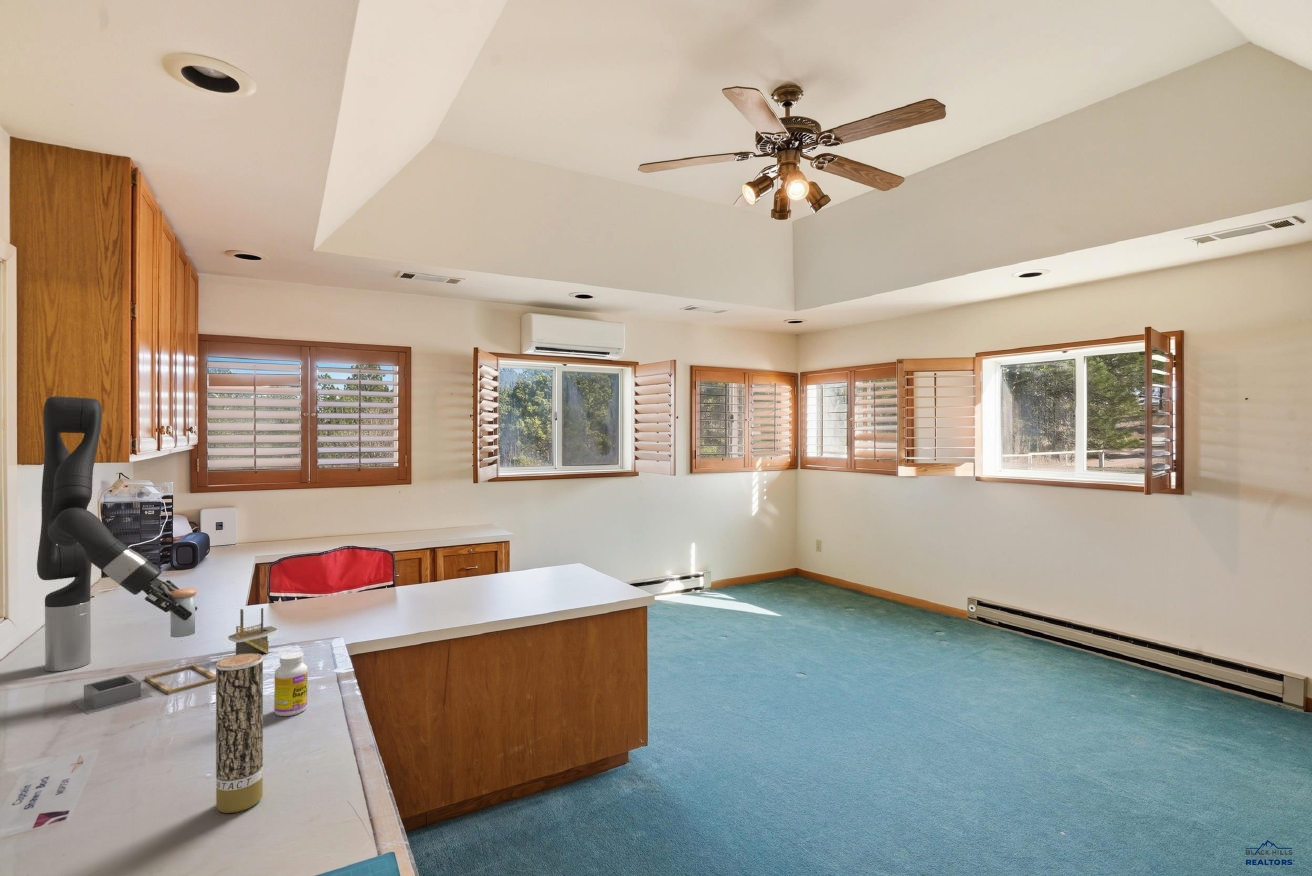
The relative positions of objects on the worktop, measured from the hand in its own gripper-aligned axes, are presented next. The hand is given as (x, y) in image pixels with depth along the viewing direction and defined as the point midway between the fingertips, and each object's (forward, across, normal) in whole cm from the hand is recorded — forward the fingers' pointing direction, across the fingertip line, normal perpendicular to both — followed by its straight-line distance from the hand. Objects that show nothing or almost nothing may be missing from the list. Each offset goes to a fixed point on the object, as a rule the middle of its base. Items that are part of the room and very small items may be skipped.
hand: (191, 614), depth 162 cm
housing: (+3, -7, +23) cm, 24 cm away
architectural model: (+21, +18, +5) cm, 28 cm away
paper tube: (+27, -66, -1) cm, 71 cm away
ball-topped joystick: (+2, 0, +5) cm, 5 cm away
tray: (+11, 0, +14) cm, 18 cm away
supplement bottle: (+30, -28, -4) cm, 41 cm away
